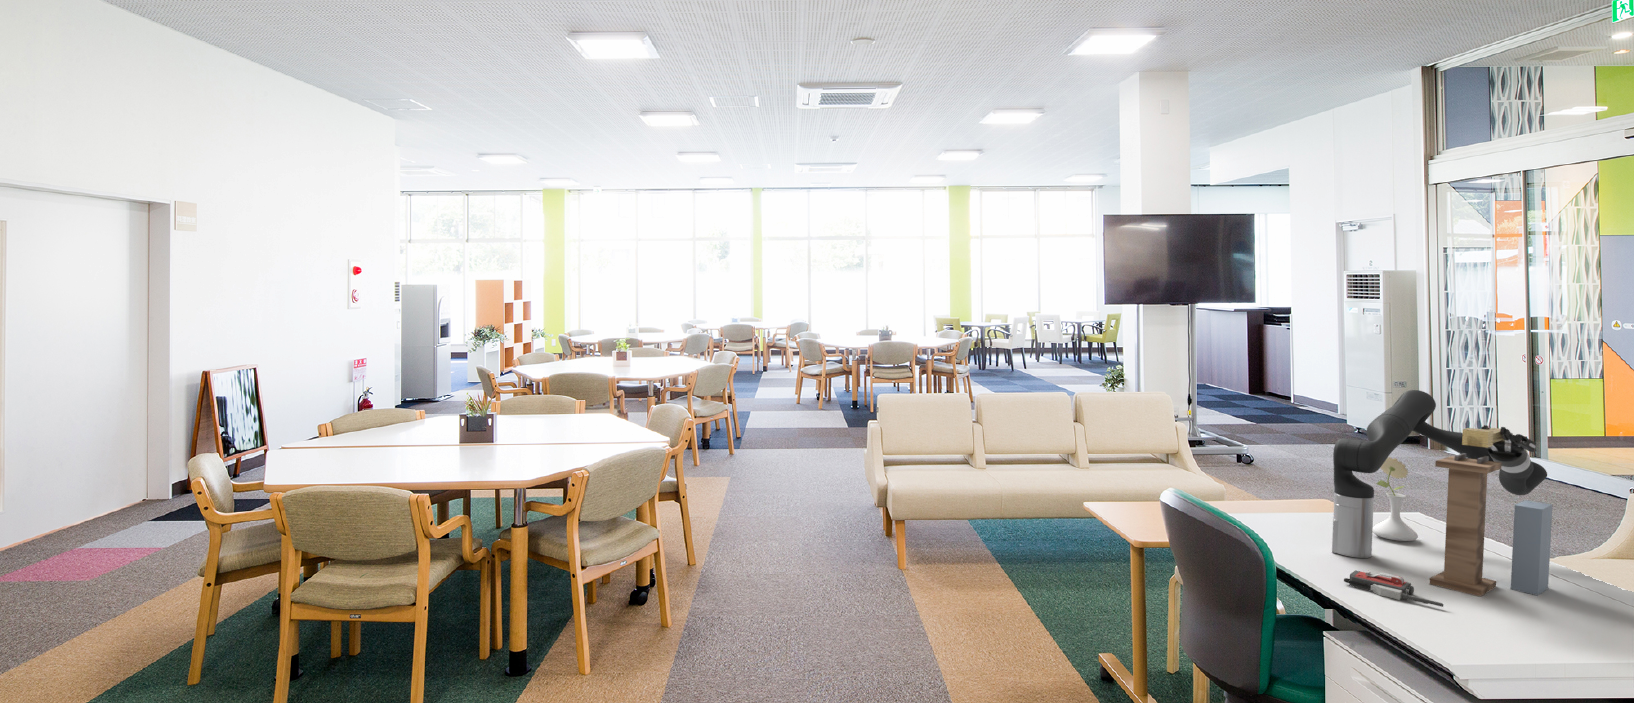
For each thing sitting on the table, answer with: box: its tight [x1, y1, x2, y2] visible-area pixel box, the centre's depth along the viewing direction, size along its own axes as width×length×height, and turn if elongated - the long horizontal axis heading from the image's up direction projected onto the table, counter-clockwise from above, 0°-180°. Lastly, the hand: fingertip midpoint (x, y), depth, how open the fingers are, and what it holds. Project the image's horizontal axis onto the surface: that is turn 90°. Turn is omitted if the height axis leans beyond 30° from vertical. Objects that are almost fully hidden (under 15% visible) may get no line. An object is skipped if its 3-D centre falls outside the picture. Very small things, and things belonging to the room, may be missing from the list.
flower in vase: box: [1372, 456, 1419, 542], centre depth 225 cm, size 13×11×25 cm
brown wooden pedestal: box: [1429, 453, 1502, 597], centre depth 185 cm, size 12×10×33 cm
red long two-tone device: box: [1343, 570, 1444, 608], centre depth 180 cm, size 9×4×20 cm
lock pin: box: [1462, 427, 1504, 448], centre depth 191 cm, size 20×5×4 cm, turn 123°
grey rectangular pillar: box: [1510, 499, 1553, 596], centre depth 183 cm, size 9×5×22 cm, turn 123°
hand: (1493, 429), depth 194 cm, fingers closed on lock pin, 3 cm apart
